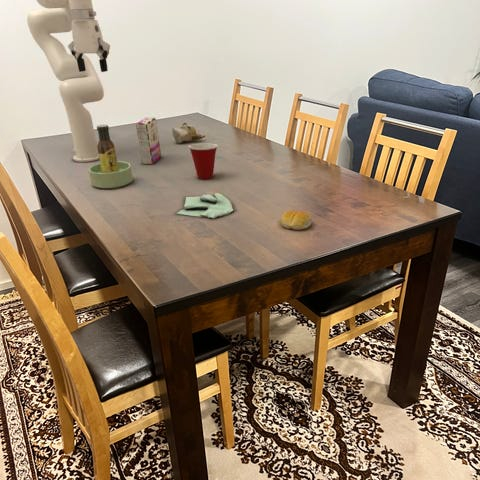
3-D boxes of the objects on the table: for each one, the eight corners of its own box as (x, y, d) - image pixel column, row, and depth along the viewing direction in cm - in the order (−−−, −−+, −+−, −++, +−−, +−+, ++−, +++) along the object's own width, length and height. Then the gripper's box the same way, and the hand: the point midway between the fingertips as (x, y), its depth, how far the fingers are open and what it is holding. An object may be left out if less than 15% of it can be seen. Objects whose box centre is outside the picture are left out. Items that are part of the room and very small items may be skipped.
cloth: (216, 222, 146) (216, 214, 145) (161, 210, 156) (160, 203, 155) (250, 200, 160) (250, 193, 159) (198, 191, 170) (197, 184, 169)
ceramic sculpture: (166, 122, 225) (194, 119, 232) (168, 141, 230) (195, 138, 237) (177, 126, 218) (205, 123, 225) (178, 146, 222) (206, 142, 229)
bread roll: (288, 217, 147) (288, 205, 145) (314, 222, 143) (315, 210, 141) (275, 227, 142) (275, 214, 140) (302, 232, 138) (302, 219, 135)
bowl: (83, 184, 181) (80, 168, 178) (117, 174, 191) (114, 159, 187) (107, 192, 173) (104, 176, 169) (141, 181, 182) (138, 165, 178)
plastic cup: (223, 173, 186) (221, 141, 179) (213, 182, 178) (211, 149, 171) (198, 171, 189) (195, 140, 183) (186, 180, 181) (183, 147, 174)
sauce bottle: (115, 184, 178) (104, 128, 167) (100, 183, 180) (89, 127, 168) (123, 178, 183) (114, 123, 172) (109, 177, 185) (98, 123, 173)
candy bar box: (150, 156, 210) (145, 117, 200) (161, 157, 209) (156, 117, 199) (141, 164, 201) (135, 123, 191) (152, 164, 200) (146, 123, 190)
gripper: (110, 14, 164) (119, 70, 174) (69, 15, 170) (80, 69, 180) (97, 15, 159) (107, 73, 168) (55, 17, 164) (67, 72, 174)
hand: (93, 71), depth 174 cm, fingers open, 9 cm apart
